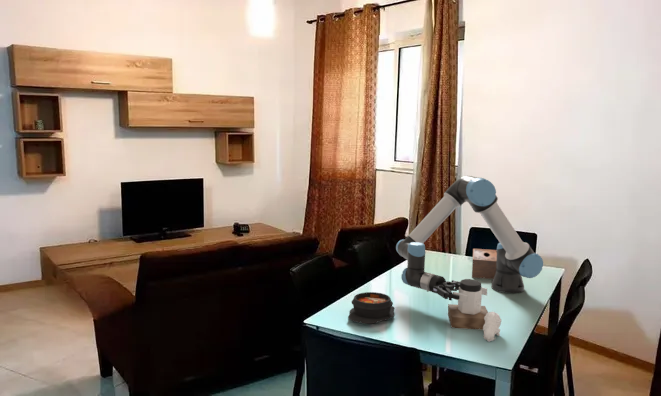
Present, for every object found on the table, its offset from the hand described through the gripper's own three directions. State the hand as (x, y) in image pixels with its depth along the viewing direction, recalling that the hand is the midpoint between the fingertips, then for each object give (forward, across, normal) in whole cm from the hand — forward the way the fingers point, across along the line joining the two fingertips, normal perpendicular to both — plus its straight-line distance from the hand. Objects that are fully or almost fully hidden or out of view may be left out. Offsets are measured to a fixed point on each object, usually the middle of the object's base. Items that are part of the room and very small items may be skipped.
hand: (477, 295), depth 202 cm
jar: (-3, 0, -7) cm, 8 cm away
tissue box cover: (-39, -71, -12) cm, 82 cm away
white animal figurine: (+11, +7, -12) cm, 18 cm away
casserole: (-32, +26, -12) cm, 43 cm away
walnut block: (-3, 0, -12) cm, 13 cm away
